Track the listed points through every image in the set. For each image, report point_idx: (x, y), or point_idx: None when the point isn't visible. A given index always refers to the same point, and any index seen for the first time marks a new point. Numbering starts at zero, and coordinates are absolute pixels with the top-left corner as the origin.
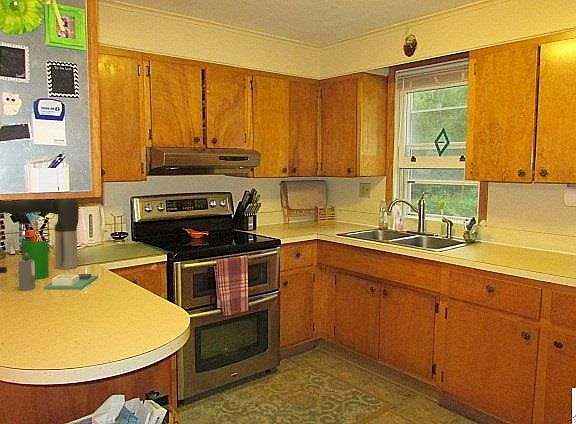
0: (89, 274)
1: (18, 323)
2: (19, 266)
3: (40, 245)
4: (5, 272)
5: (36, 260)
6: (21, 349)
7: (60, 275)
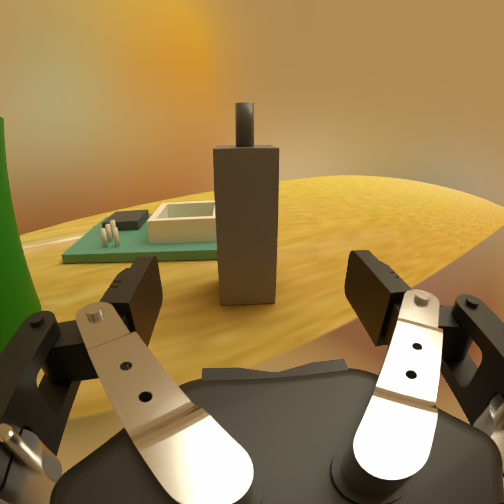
0: (120, 212)
1: (476, 226)
2: (277, 176)
3: (4, 140)
4: (161, 296)
5: (12, 221)
6: (499, 213)
7: (159, 218)
